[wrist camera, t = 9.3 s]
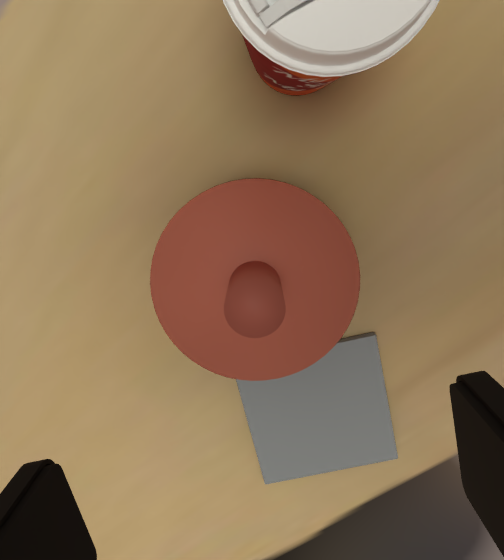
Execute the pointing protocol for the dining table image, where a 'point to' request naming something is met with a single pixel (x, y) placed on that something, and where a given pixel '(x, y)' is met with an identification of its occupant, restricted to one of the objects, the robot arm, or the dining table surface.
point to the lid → (255, 279)
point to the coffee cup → (323, 37)
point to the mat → (322, 414)
